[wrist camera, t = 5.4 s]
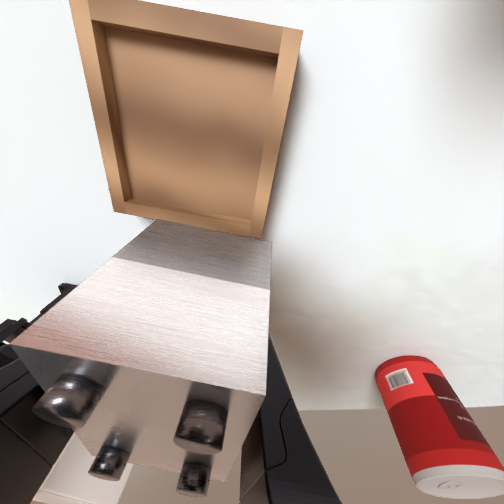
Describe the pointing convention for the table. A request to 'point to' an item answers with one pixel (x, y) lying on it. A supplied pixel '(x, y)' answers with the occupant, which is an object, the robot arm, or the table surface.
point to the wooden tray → (187, 109)
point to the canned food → (437, 432)
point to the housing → (159, 354)
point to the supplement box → (79, 479)
